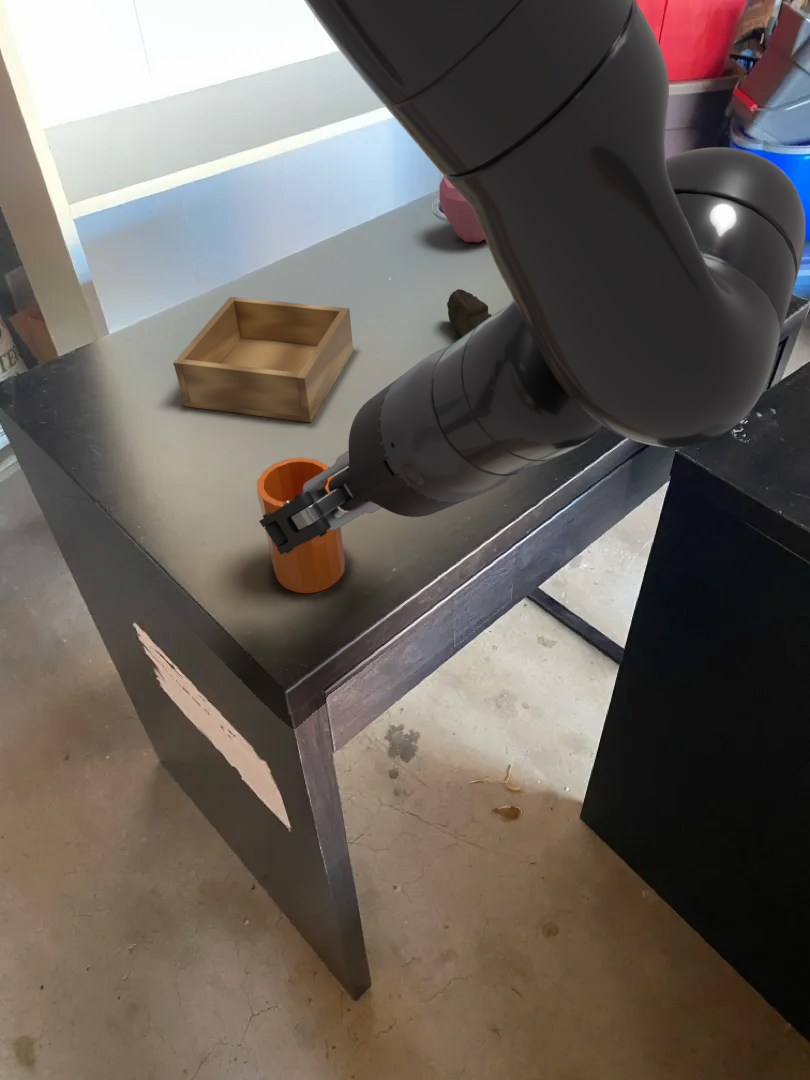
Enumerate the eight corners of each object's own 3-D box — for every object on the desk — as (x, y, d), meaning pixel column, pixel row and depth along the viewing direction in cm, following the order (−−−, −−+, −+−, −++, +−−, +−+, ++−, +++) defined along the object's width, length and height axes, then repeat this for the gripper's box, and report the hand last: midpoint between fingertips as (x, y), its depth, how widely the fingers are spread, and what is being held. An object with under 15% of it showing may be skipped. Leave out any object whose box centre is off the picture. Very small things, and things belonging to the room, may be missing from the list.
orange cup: (264, 586, 65) (244, 500, 59) (290, 538, 69) (274, 452, 62) (331, 599, 64) (319, 511, 57) (354, 549, 67) (344, 462, 61)
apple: (480, 218, 114) (482, 142, 107) (523, 238, 109) (528, 159, 102) (425, 238, 110) (424, 160, 103) (468, 260, 105) (469, 179, 98)
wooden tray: (184, 406, 83) (172, 362, 80) (238, 338, 93) (230, 296, 89) (311, 422, 80) (304, 378, 77) (353, 350, 90) (349, 308, 86)
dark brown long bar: (568, 395, 82) (573, 354, 79) (534, 407, 81) (538, 365, 78) (470, 315, 95) (471, 277, 91) (439, 324, 93) (439, 286, 90)
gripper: (497, 319, 47) (372, 409, 61) (304, 430, 40) (213, 502, 54) (564, 433, 48) (425, 495, 62) (386, 561, 41) (275, 599, 55)
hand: (327, 499), depth 58 cm, fingers open, 8 cm apart
